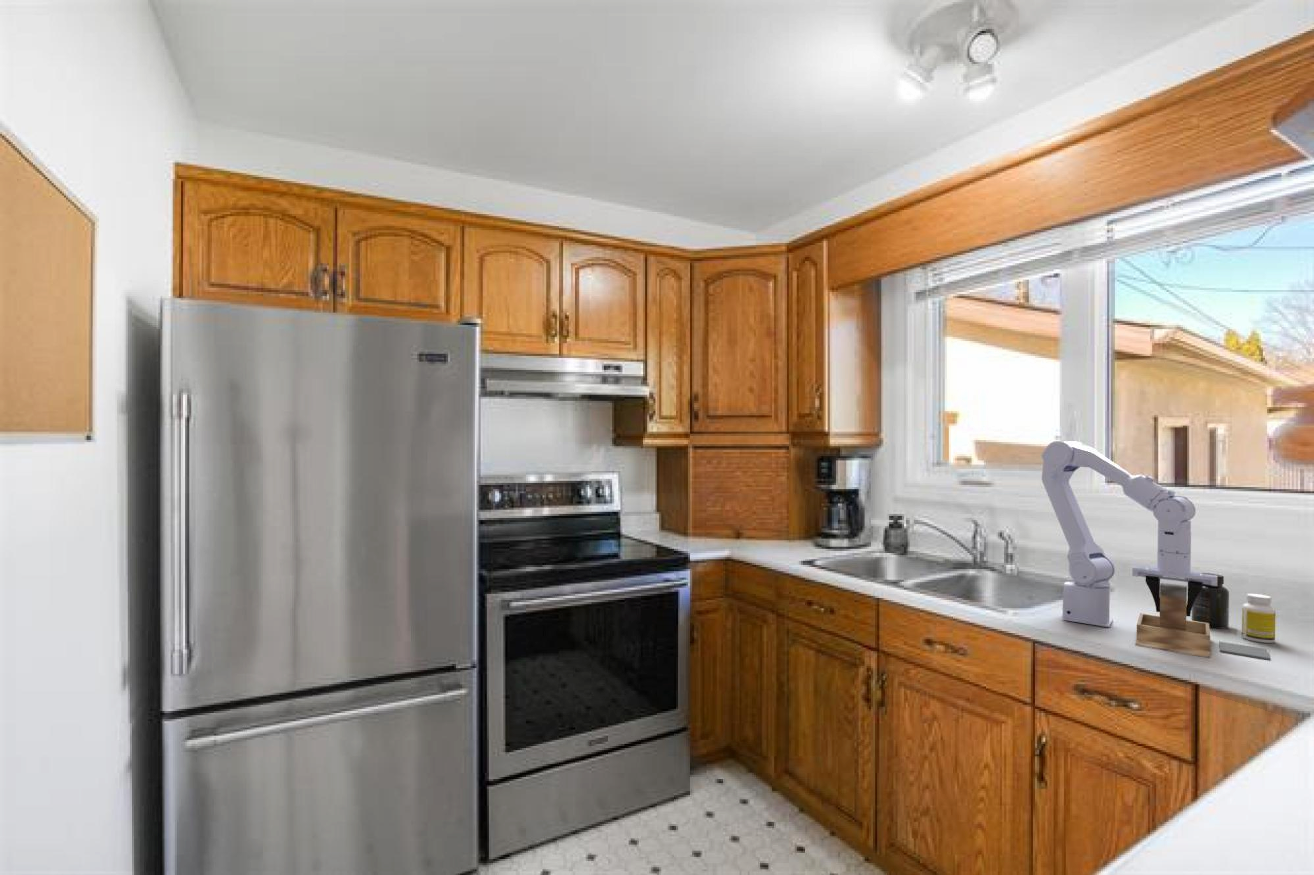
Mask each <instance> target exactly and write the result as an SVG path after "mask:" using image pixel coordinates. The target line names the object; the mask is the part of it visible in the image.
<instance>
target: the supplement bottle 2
mask: <svg viewBox="0 0 1314 875" xmlns="http://www.w3.org/2000/svg"><path fill="white" fill-rule="evenodd" d="M1246 601H1247V602H1246V603H1243V605H1242V607H1241V636H1242V638H1243V639H1245V640H1247V641H1248V640H1249V641H1252V642H1255V643H1263V644H1265V643H1267V644H1272V643H1275V642H1276V641H1275V640H1276V609H1275V608H1274V607H1272V605H1271V604H1272V597H1271V596H1270V595H1265V594H1260V593H1247V594H1246Z"/></svg>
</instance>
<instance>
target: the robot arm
mask: <svg viewBox="0 0 1314 875" xmlns="http://www.w3.org/2000/svg"><path fill="white" fill-rule="evenodd" d="M1041 459H1042V461H1043V463H1042V473H1041V481H1042V484H1043V486H1044V489H1045V491H1046V493H1047V496H1048V498H1049V501H1050V503H1051V505H1052V508H1053V510H1054V513H1055V515H1056V518H1057V520H1058V523H1059V525H1060V527H1061V530H1062V532H1063V535H1064V537H1065V540H1066V542H1067V544H1068V547H1069V549H1068V552H1067V555H1066V556H1067V557H1066V558H1067V560H1068V564H1069V565H1068V566H1069V567H1068V572H1069V575H1070V577H1071V579H1072V580H1073V582H1072V581H1064V583H1063V588H1062V589H1063V591H1062V606H1061V607H1062V609H1061V610H1062V617H1061V619H1062V620H1063V621H1069V622H1073V623H1078V624H1079V623H1080V624H1086V625H1091V626H1099V627H1103V628H1104V627H1105V628H1110V627H1111V625H1112V624H1113V618H1111V617H1110V611H1111V610H1110V606H1111V605H1110V602H1111V598H1110V597H1111V594H1110V593H1111V591H1110V589H1111V585H1110V579H1112V578H1113V576H1114V575H1115V572H1116V569H1115V564H1114V563H1113V561H1112V560H1111V559H1110V558H1109V557H1108V556H1107V555H1106V554H1105V552H1104V550H1103V548H1102V547H1101V546H1100V545H1098V544H1097V543H1096V542H1095V541H1094V539H1093V536H1092V534H1091V531H1090V528H1089V527H1088V524H1087V522H1086V519H1085V517H1084V515H1083V512H1082V511H1081V508H1080V505H1079V503H1078V501H1077V498H1076V497H1075V494H1074V492H1073V489H1072V487H1071V486H1072V485H1070V482H1069V481H1070V479H1072V477H1073V474H1074V473H1075V472H1076V471H1077V470H1078V469H1080V467H1081V468H1088V469H1091V470H1094V471H1095V472H1096V473H1099V474H1100V475H1102V476H1104V477H1106V478H1107V479H1108V480H1111V481H1113V482H1114V483H1116V484H1117V485H1119V486H1120V487H1122V491H1123V494H1124V496H1126V497H1128V498H1130V499H1131V500H1132V501H1134V502H1136V503H1137V504H1138V505H1140V506H1142V507H1143V508H1145V509H1147V511H1148V510H1149V512H1152V514H1153V516H1154V518H1155V519H1156V520H1157V551H1156V552H1157V554H1156V556H1157V557H1156V558H1157V563H1156V564H1157V566H1156V567H1145V566H1143V567H1142V566H1135V565H1134V566H1132V573H1131V574H1132V577H1143V578H1145V583H1146V585H1147V588H1148V590H1150V591H1149V592H1150V593H1151V596H1152V598H1153V602H1154V606H1155V612H1157V613H1160V584H1161V580H1167V581H1176V582H1186V583H1187V608H1186V617H1191V614H1192V607H1193V604H1194V602H1195V600H1196V598H1197V596H1198V594H1199V593H1200V591H1201V590H1202V588H1203V584H1209V585H1212V586H1217V576H1215V575H1207V574H1201V573H1202V572H1194V571H1193V572H1192V571H1191V564H1192V563H1191V562H1192V561H1191V557H1192V555H1191V554H1192V552H1191V551H1192V550H1191V549H1192V531H1191V528H1192V527H1191V526H1192V524H1191V522H1192V519H1193V518H1194V517H1195V515H1196V507H1195V504H1194V503H1193V502H1192V501H1191V500H1190V499H1189V498H1188V497H1187V496H1184V495H1183V496H1182V495H1175V494H1176V492H1175V491H1174V490H1172V489H1169V490H1167V489H1166V488H1165V487H1163V486H1162V485H1160V484H1158V483H1156V482H1155V478H1154V477H1152V476H1150V475H1147V476H1145V475H1143V474H1137V475H1133V474H1132V473H1130V472H1129V471H1127V470H1125V469H1124V468H1122V466H1120V465H1118V464H1117V463H1115V462H1113V461H1112V460H1111V459H1109V458H1107V457H1106V456H1105V455H1103V454H1102V453H1100V452H1099V451H1097V450H1096V449H1095V448H1093V447H1092V446H1089V445H1088V446H1087V445H1086V444H1085V443H1083V442H1081V441H1079V440H1073V441H1064V440H1063V441H1062V440H1054V441H1052V442H1050V443H1049V444H1048V445H1047V446H1046V447H1045V449H1044V451H1043V452H1042V453H1041Z"/></svg>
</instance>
